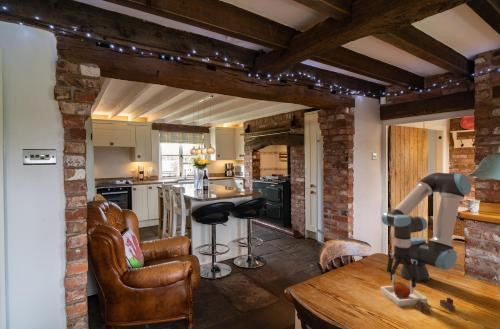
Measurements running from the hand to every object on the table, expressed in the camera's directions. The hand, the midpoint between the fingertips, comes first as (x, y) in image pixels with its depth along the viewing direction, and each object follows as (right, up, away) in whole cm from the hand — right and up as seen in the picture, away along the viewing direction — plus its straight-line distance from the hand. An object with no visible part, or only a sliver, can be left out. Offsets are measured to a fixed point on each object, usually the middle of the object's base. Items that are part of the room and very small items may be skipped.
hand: (402, 289), depth 143 cm
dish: (0, -4, 0) cm, 4 cm away
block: (+9, -4, -11) cm, 15 cm away
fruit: (0, -3, 0) cm, 3 cm away
